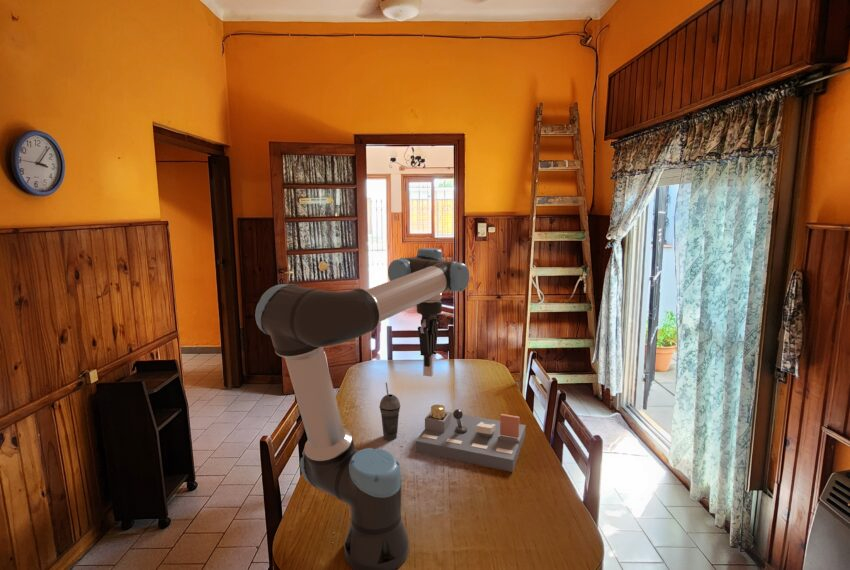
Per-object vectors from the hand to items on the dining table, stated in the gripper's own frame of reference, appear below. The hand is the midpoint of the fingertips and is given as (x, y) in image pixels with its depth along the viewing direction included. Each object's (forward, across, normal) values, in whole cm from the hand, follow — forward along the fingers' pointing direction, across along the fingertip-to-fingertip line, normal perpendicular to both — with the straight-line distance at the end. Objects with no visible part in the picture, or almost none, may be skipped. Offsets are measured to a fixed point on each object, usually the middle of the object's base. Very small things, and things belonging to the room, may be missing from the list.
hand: (428, 375), depth 143 cm
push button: (+23, +16, +2) cm, 28 cm away
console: (+28, +16, -11) cm, 34 cm away
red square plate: (+23, +16, -23) cm, 36 cm away
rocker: (+22, +16, -15) cm, 31 cm away
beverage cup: (+29, +10, +17) cm, 35 cm away
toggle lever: (+23, +16, -7) cm, 29 cm away
